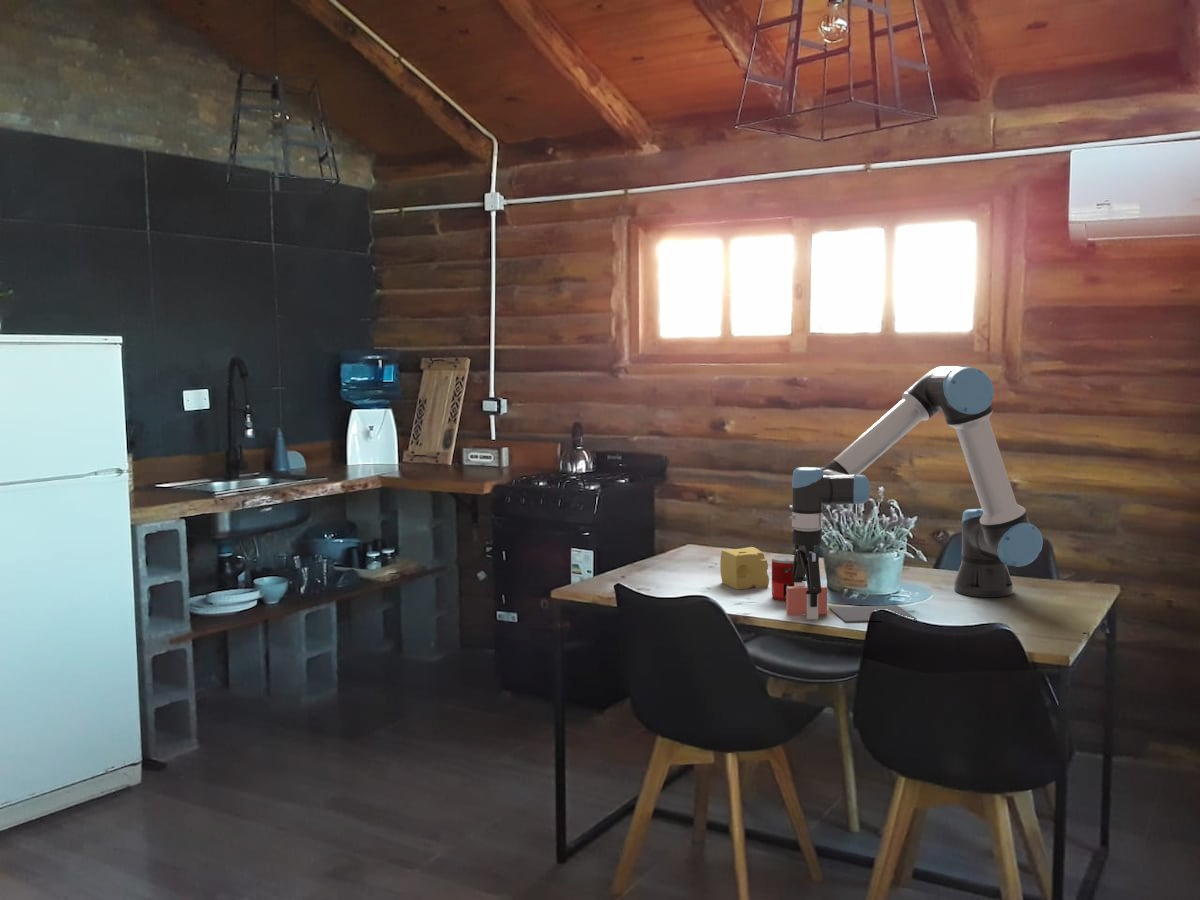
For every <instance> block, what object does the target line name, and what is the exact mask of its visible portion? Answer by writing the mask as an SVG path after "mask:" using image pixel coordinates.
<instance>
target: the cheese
mask: <svg viewBox="0 0 1200 900" xmlns="http://www.w3.org/2000/svg"><path fill="white" fill-rule="evenodd" d="M763 552H764V551H761V550H760V549H758V548H756V547H753V546H749V547H742V548H736V549H735V548H734V549H723V550H721V553H720V561H719V563H720V564H719V565H720V566H719V567H720V569H719V570H720V578H721V583H722V584H724V585H726V586H729V587H731V588H732V589H735V590H737V591H739V590H748V589H751V588H757V589H758V588H759V589H761V588H762V589H763V588H768V587H769V584H770V578H769V574H768V569H769V564H768V561H767V559H766V557H765V554H764V553H763Z"/></svg>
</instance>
